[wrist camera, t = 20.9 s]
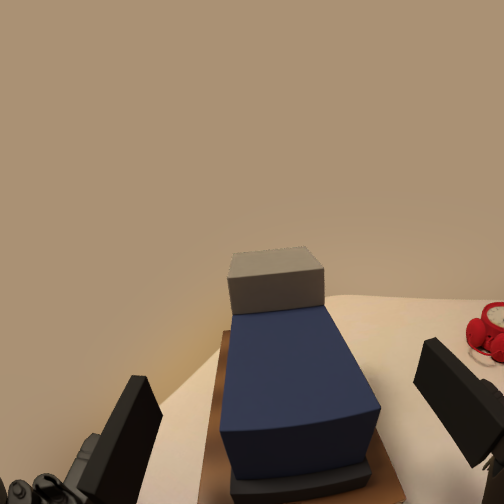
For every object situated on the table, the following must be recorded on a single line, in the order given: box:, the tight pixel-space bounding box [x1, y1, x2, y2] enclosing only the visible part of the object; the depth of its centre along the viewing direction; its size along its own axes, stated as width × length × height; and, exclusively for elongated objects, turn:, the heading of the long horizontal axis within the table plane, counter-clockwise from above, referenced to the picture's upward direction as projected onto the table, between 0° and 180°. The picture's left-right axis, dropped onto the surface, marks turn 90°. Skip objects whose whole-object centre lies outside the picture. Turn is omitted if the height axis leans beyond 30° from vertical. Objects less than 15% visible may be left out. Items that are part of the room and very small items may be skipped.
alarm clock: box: [466, 302, 504, 362], centre depth 25 cm, size 10×6×15 cm
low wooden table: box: [197, 330, 406, 504], centre depth 21 cm, size 24×12×6 cm, turn 1°
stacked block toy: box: [219, 247, 381, 504], centre depth 19 cm, size 20×8×10 cm, turn 0°
